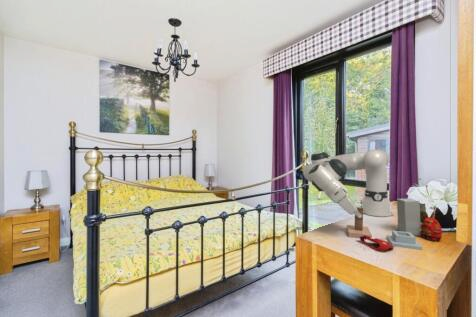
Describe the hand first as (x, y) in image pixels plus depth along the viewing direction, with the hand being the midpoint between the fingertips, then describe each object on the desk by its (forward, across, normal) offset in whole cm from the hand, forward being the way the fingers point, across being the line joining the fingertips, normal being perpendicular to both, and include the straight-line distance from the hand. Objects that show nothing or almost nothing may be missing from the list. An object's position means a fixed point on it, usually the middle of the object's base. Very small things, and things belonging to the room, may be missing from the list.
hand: (360, 215), depth 111 cm
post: (+4, 0, -5) cm, 6 cm away
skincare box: (+21, -10, +9) cm, 25 cm away
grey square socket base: (+17, +6, +5) cm, 18 cm away
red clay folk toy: (+26, -5, +14) cm, 30 cm away
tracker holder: (+10, +13, -3) cm, 16 cm away
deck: (+6, 0, -6) cm, 8 cm away
